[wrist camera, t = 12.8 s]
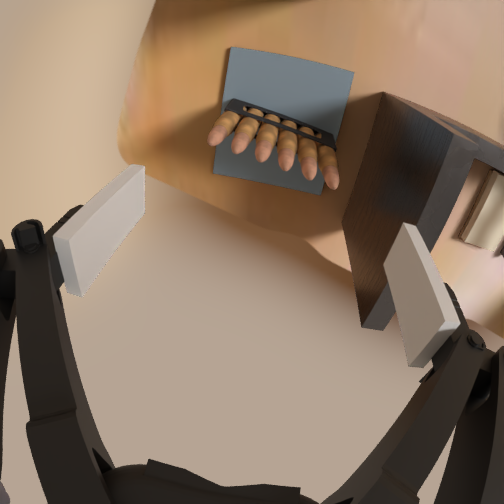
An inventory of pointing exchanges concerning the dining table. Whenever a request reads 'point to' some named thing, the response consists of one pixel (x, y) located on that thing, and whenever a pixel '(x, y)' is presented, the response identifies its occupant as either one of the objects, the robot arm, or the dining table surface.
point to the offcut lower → (476, 202)
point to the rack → (406, 192)
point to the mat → (281, 110)
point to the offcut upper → (488, 216)
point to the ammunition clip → (289, 139)
